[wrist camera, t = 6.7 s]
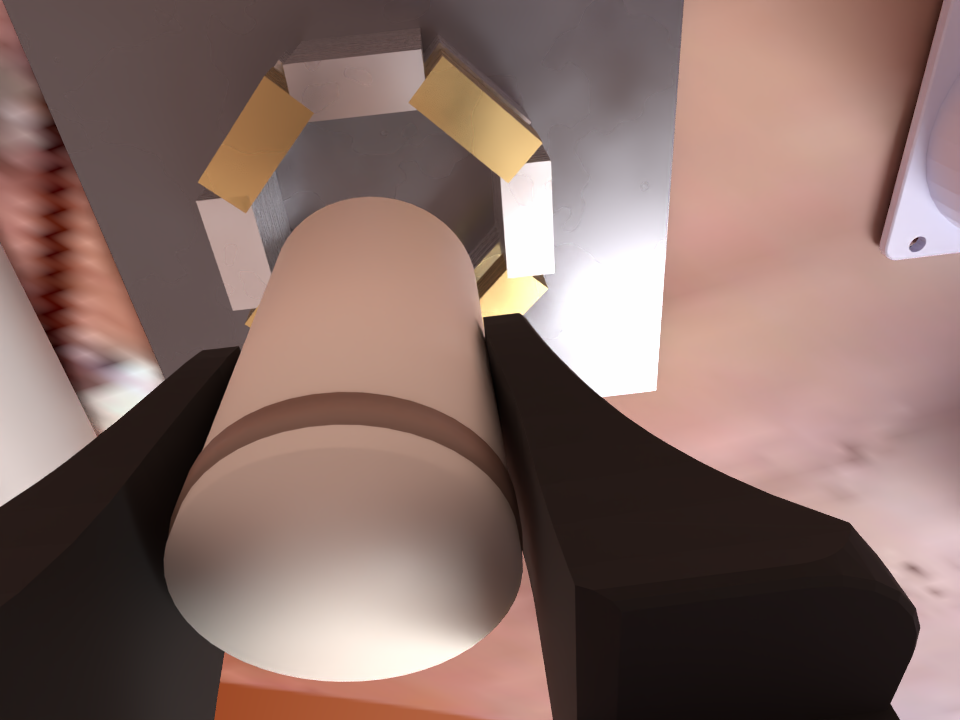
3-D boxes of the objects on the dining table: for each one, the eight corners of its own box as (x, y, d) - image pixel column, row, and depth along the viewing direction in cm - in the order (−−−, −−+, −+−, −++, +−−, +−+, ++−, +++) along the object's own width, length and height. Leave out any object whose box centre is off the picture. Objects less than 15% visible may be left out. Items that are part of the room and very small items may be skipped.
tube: (-483, 100, 13) (53, 754, 27) (-293, 95, 12) (168, 785, 26) (-198, 50, 18) (139, 637, 31) (-36, 42, 16) (241, 658, 30)
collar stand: (688, -202, 15) (757, -228, 12) (650, 380, 24) (684, 447, 21) (-37, -126, 15) (-151, -134, 12) (198, 434, 24) (168, 511, 21)
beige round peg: (480, 192, 13) (538, 435, 7) (477, 374, 15) (518, 673, 9) (254, 195, 12) (111, 452, 6) (286, 380, 15) (202, 694, 9)
